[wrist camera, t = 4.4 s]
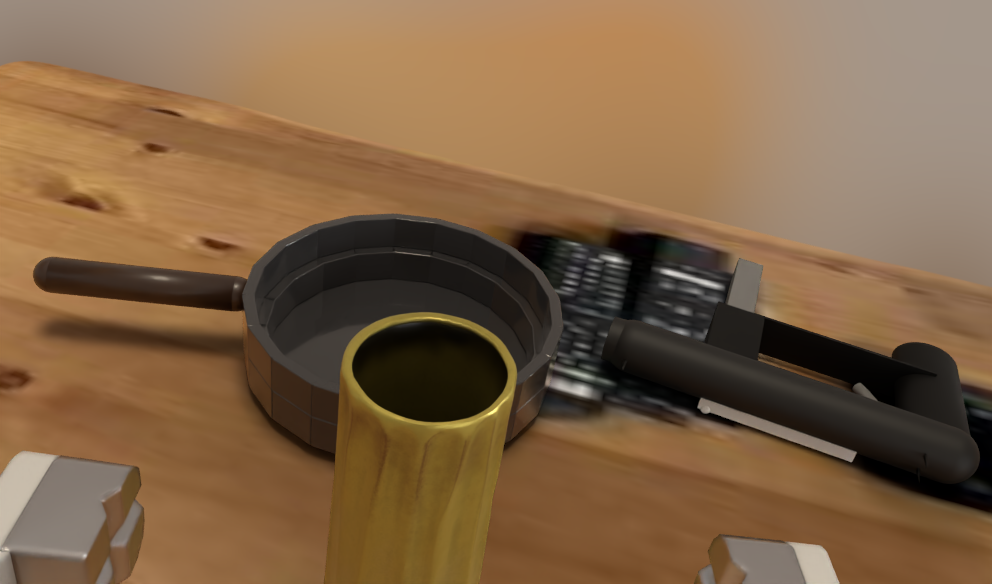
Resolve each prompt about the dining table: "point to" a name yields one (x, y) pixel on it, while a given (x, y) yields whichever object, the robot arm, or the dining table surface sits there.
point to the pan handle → (139, 283)
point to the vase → (417, 450)
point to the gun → (810, 385)
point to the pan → (386, 309)
